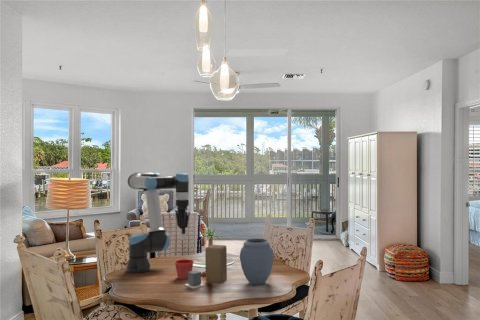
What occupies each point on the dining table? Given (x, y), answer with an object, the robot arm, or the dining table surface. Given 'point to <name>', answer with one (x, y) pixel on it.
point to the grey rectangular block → (194, 278)
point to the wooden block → (216, 263)
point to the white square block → (194, 286)
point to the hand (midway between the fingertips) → (182, 239)
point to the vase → (256, 260)
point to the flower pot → (183, 268)
